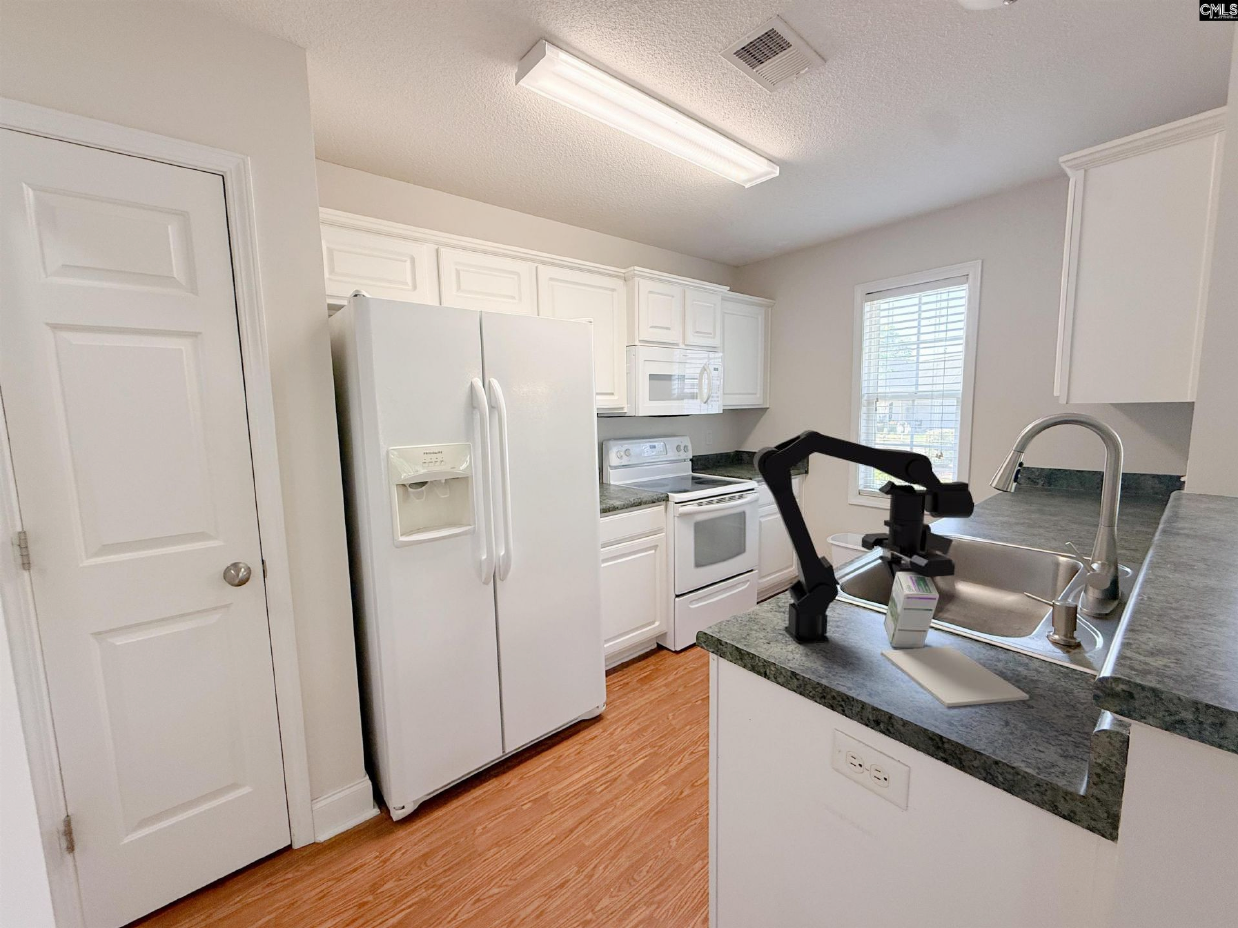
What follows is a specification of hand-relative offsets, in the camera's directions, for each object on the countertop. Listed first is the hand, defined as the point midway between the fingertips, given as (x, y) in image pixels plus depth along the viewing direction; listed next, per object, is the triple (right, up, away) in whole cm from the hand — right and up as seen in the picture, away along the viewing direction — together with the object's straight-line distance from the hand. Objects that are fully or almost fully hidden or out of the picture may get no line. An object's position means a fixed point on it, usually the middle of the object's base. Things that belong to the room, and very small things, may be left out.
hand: (901, 595), depth 96 cm
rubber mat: (+2, -11, -11) cm, 15 cm away
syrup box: (0, -8, 0) cm, 8 cm away
